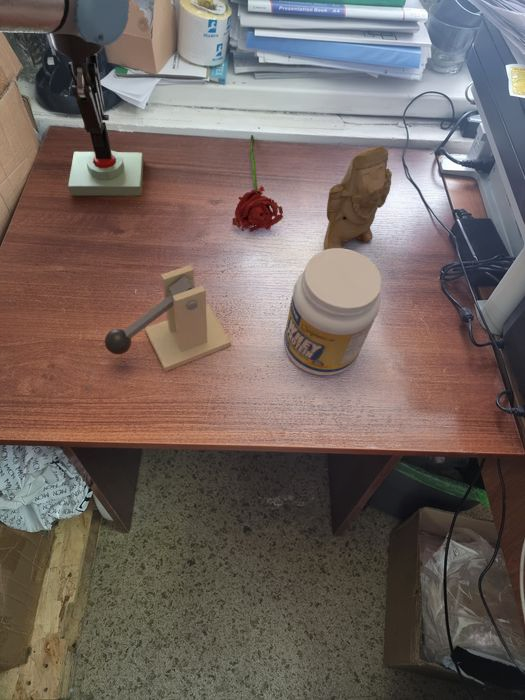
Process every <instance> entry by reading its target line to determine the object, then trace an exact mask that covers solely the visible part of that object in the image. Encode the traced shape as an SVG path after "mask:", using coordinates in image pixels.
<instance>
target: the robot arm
mask: <svg viewBox="0 0 525 700" xmlns="http://www.w3.org/2000/svg"><path fill="white" fill-rule="evenodd" d="M129 9H130V0H0V33H25V34H28V33H29V34H50V39H51V41H52V46H53V48H54V49H55V50H56V51H57V52H58V53H59V54H61V55H63V56H65V57H67V58H68V59H70V62H68V70H69V75H70V76H71V77H72V79H73V84H74V85H72V86H71V92H72V94H73V96H74V98H75V100H76V103H77V106H78V110H79V113H80V115H81V120H82V122H83V129H84V130H85V131H86V133H89V135H90V139H91V142H92V148H93V152H95V156H96V159H111V156H112V153H111V150H112V148H111V143H110V139H109V134H108V133H109V132H108V128H107V124H106V121H110V115H109V114H105V110H106V106H105V101H104V95H103V89H102V82H101V76H100V69H99V58H98V54H99V53H100V52H101V51H102V50H103V48H104V47H105V46H111V45H113V44H114V43H116V42H118V40H119V39H121V37H122V36H123V34H124V32H125V30H126V28H127V26H128V21H129Z"/></svg>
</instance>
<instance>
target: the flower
mask: <svg viewBox="0 0 525 700" xmlns="http://www.w3.org/2000/svg"><path fill="white" fill-rule="evenodd" d="M250 139H251V142H250V143H251V144H250V156H251V165H252V166H251V169H252V177H253V189H252V190H250V191H247V192H245V193H244V194H243V195H242V196H238V200H239V202H238V203H237V204H236V208H235V210H234V217H233V218H231V219H232V226H236V227H237V229H240V228H241V231H244V230H246V229H248V230H249V232H250V233H253V232H255V231H257V230H260V229H265V230H266V231H267V230H269V231H271V228H272V227H273V226H274V225H276V224H278V223H279V222H281V221H282V220H283V218H284V215H283V214H284V210H283V207H282V205H280V206H279V205H278V202H276V201H275V200H274V199H273V198H272V197H268V196H265V195H263V192H265V191H266V190H265V187H264V186H263V185H260V186H259V188H258V179H257V168H256V158H255V154H254V144H255V142H254V141H255V137H254V135H253V134H251V135H250Z"/></svg>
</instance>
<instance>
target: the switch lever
mask: <svg viewBox="0 0 525 700" xmlns="http://www.w3.org/2000/svg"><path fill="white" fill-rule="evenodd" d="M194 288H197V286H195V283H194V284H193V282H191V281H190V280H189V279H188V278H186V277H185V276H183V277H182V278H181V279H180V280H178V281H177V282H176V283H174V284H173V285H172V286H171V287H169V290H170V292H171V293H172V294H171V295H169V296H168V297H167V298H165V299H164V298H163V299H162V301H159V303H157V305H155V306H154V307H152V308H151V309H150V310H148V311H147V312H146V313H145V314H144V315H142V316H141V317H140V318H138V319H137V320H136V321H135V322H133V323H132V324H131V325H129V326H128V327H126V328H125V329H121V328H114V329H112V330H110V331H109V332H108V333H107V334H106V336H105V338H104V346H105V348H106V350H107V351H108V352H110V354H113V355H123V354H125V353H126V352H128V351H129V350H130V348H131V347H132V338H133V337H135V336H136V335H138V334H139V333H140V332H141V331H143V330H145V328H146V327H149V326H150V324H152V323H153V322H155V321H156V320H157V319H158V318H160V317H161V316H162V315H163V314H165V313H166V311H167V310H168V309H170V308H171V307H172V306H174V305H173V296H174V295H176V294H179V293H182V292H185V291H188V290H191V289H194Z"/></svg>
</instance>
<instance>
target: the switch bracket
mask: <svg viewBox="0 0 525 700" xmlns="http://www.w3.org/2000/svg"><path fill="white" fill-rule="evenodd" d="M183 276H185V277H186V278H188V279H189V280H190V281H191V282H193V284H194V285H195V271H194V268H193V266H192V264H188V265H186V266H183V267H180V268H177V269H175V270H174V269H173V270H171V271H167V272H164V273H162V274H161V275H160V277H161V285H162V292H163V300H164V299H165V298H167V297H168V296H169V295H171V294H172V293H171V292H170V290H169V287H171V286H172V285H173V284H174V283H176V282H177V281H178V280H180V279H181V278H182V277H183ZM173 305H174V306H172V307H171V308H170V309H168V310H167V311H166V312H165V313H166V319H165V320H163V321H160V322H158V323H154V324H152V325H148V326H146V327H145V328H144V331H145V334H146V336H147V338H148V340H149V342H150V344H151V346H152V348H153V350H154V352H155V354H156V357H157V358H158V361H159V363H160V365H161V367H162V369H163V371H164V372H165V373H167V372H168V371H171V370H174V369H176V368H178V367H181V366H184V365H186V364H189V363H192V362H194V361H196V360H198V359H201V358H204V357H206V356H209V355H211V354H215V353H216V352H218V351H221V350H224V349H226V348H229V347H231V342H232V341H231V339H230V338H229V336H228V334H227V333H226V331H225V329H224V328H223V326H222V324H221V322H220V321H219V319H218V317H217V315H216V314H215V312H214V310H213V308H212V307H211V304H207V289H206V288H205V287H204V285H200V286H196V288H194V289H191V290H188V291H185V292H182V293H179V294H176V295H174V296H173Z"/></svg>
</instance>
